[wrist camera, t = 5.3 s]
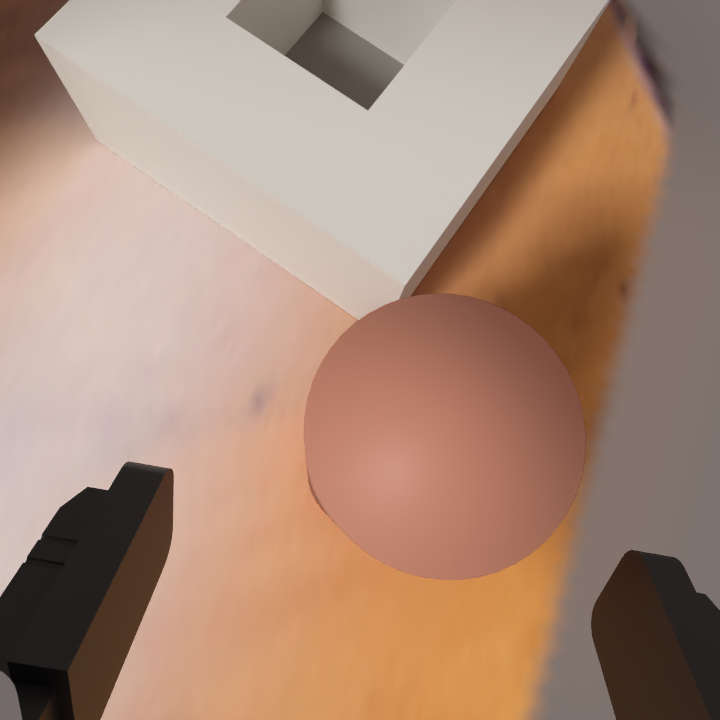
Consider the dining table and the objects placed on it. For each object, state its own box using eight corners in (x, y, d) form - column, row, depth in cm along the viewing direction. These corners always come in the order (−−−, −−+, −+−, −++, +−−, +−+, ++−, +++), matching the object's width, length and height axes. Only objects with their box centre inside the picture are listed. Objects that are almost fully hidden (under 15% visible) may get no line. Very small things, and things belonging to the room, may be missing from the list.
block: (97, 142, 21) (33, 34, 16) (299, -76, 24) (297, -223, 19) (382, 336, 20) (405, 285, 15) (557, 88, 23) (623, -21, 18)
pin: (284, 485, 19) (245, 465, 7) (349, 392, 20) (407, 242, 8) (379, 552, 19) (493, 642, 7) (441, 455, 20) (635, 395, 8)
